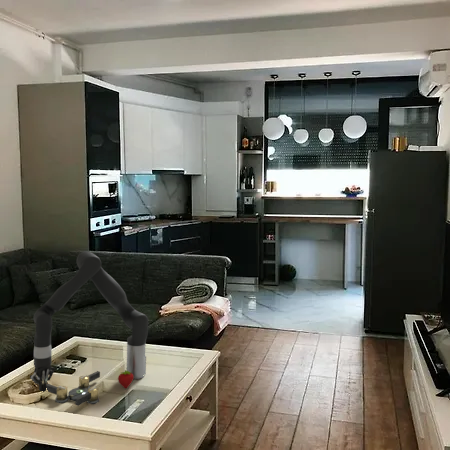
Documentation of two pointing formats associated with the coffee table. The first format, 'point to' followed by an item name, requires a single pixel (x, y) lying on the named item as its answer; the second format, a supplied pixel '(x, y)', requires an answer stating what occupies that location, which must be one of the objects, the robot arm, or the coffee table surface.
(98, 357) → the coffee table surface
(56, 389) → the foot screw
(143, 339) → the robot arm
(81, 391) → the levelling base
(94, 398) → the foot screw
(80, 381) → the footscrew back
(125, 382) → the strawberry
